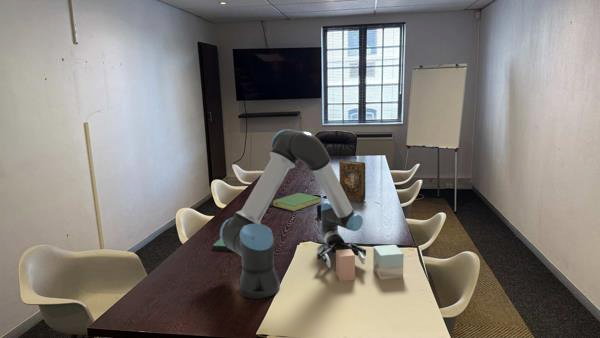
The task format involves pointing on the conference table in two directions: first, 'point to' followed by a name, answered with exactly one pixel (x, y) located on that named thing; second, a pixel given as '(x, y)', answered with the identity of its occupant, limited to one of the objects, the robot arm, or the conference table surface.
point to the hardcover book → (296, 201)
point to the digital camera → (319, 210)
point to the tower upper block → (388, 256)
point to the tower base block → (388, 271)
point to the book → (352, 180)
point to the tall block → (345, 265)
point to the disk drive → (220, 246)
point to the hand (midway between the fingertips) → (346, 262)
